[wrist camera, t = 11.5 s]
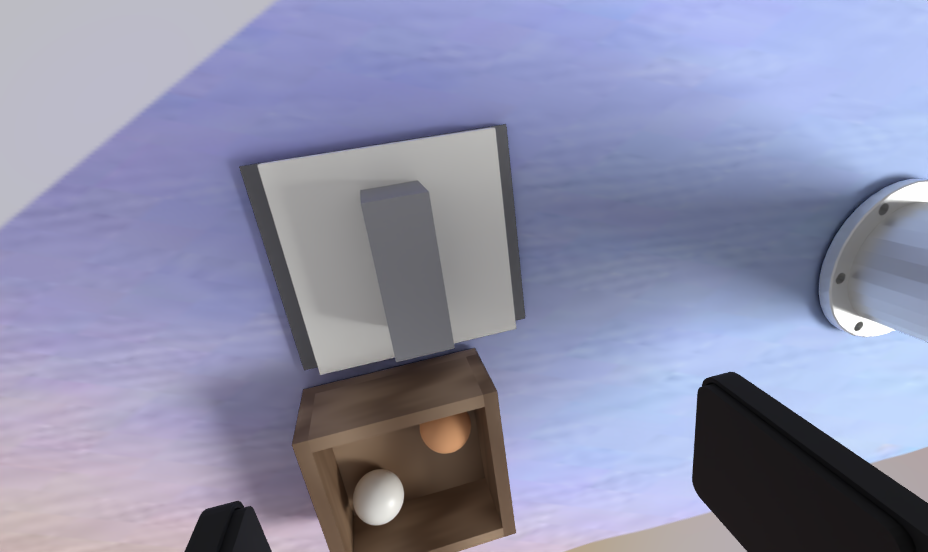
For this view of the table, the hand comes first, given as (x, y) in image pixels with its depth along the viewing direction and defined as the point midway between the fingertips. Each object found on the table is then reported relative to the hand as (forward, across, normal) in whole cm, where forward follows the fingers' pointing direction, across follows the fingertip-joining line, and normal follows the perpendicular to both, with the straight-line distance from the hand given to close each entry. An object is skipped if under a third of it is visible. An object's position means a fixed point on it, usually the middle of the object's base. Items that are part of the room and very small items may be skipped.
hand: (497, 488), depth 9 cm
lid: (+18, +1, 0) cm, 18 cm away
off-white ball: (+16, +5, +15) cm, 22 cm away
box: (+18, +3, +13) cm, 22 cm away
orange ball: (+16, 0, +11) cm, 19 cm away
